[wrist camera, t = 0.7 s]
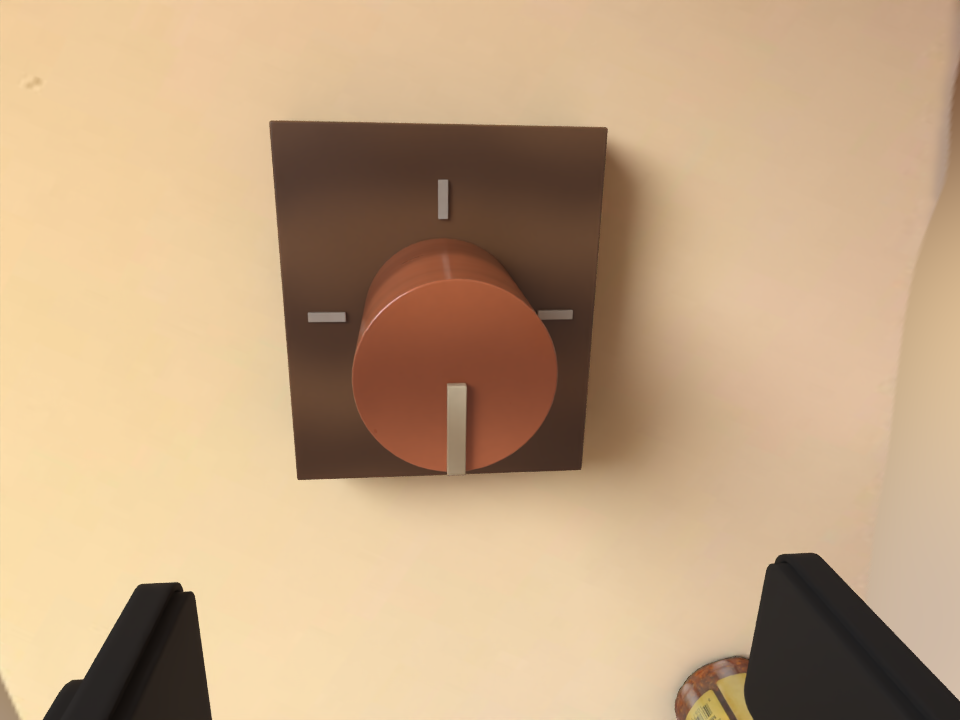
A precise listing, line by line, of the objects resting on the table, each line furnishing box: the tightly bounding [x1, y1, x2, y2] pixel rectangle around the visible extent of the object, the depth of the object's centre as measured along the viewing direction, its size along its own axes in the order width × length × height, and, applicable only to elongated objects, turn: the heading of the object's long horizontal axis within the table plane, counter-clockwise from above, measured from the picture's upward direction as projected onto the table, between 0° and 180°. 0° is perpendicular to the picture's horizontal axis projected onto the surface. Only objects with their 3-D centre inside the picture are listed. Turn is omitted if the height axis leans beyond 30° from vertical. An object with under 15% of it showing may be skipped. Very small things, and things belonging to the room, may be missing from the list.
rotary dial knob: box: [352, 238, 558, 475], centre depth 23 cm, size 6×6×7 cm
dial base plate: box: [269, 121, 608, 480], centre depth 28 cm, size 14×12×3 cm
